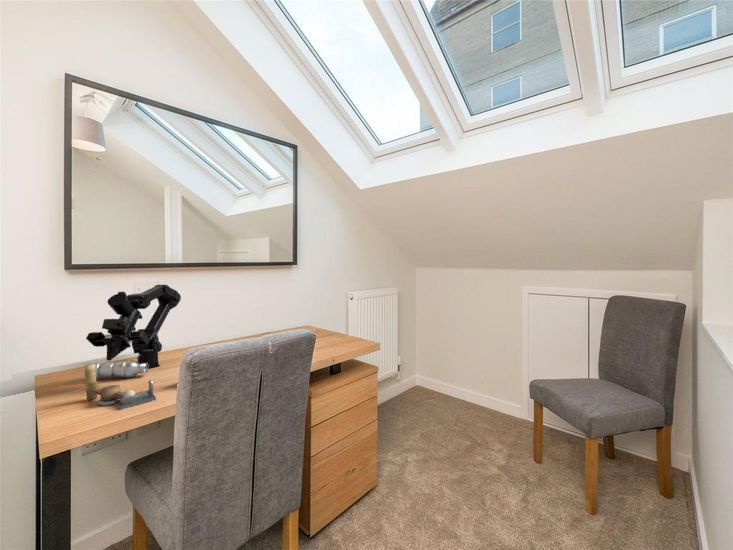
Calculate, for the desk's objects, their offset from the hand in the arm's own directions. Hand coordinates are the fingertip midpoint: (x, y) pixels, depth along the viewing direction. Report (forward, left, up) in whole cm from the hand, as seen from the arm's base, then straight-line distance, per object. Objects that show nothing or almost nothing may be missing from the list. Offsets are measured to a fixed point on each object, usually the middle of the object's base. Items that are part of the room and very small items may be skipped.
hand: (108, 360), depth 117 cm
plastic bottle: (+4, -17, -7) cm, 19 cm away
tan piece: (+2, +13, -10) cm, 17 cm away
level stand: (-2, +16, -10) cm, 19 cm away
